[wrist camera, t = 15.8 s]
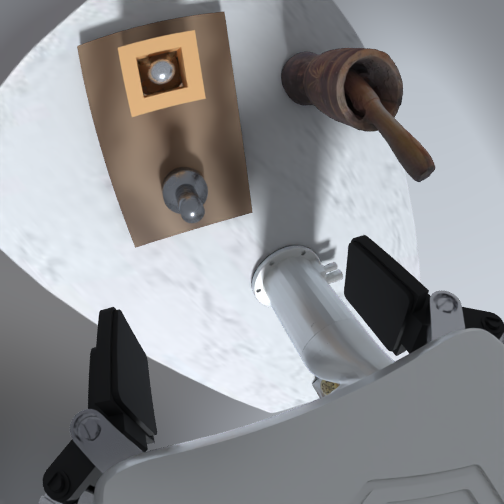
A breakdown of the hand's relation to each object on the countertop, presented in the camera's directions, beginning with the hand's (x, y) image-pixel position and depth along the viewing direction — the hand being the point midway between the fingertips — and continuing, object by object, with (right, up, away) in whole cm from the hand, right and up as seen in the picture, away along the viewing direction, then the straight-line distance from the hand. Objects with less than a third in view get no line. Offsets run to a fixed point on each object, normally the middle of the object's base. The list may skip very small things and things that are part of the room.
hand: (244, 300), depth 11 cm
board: (-9, +16, +20) cm, 28 cm away
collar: (-9, +19, +13) cm, 25 cm away
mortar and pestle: (+8, +23, +23) cm, 34 cm away
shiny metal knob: (-8, +9, +23) cm, 26 cm away
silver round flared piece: (-9, +21, +14) cm, 27 cm away
